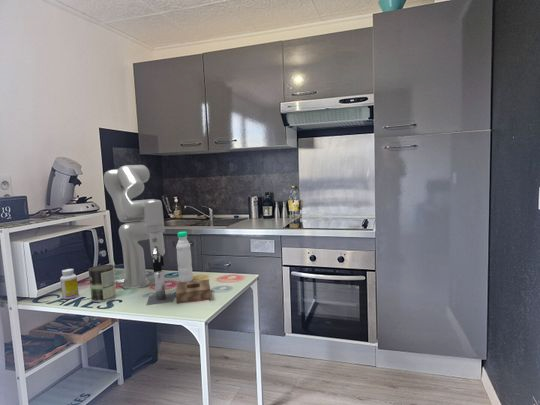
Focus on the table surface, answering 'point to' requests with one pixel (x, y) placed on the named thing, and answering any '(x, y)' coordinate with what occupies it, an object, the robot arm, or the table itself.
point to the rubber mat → (168, 299)
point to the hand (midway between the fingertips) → (159, 268)
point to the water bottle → (184, 258)
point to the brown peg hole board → (193, 291)
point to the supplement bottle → (69, 284)
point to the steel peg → (159, 285)
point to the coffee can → (102, 283)
